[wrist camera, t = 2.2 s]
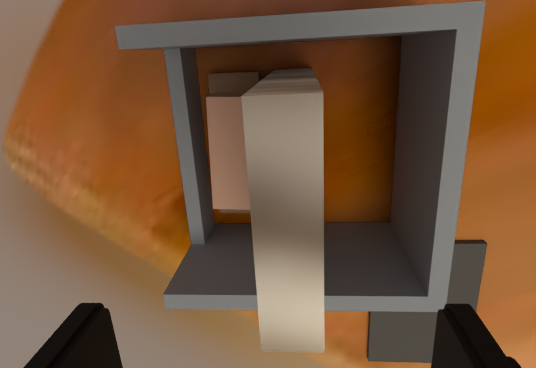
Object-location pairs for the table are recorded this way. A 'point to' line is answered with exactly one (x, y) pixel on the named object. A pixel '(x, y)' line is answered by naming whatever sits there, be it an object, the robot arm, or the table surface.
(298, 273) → the tall board
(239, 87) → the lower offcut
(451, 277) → the mat
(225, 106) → the upper offcut
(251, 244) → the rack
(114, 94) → the table surface
